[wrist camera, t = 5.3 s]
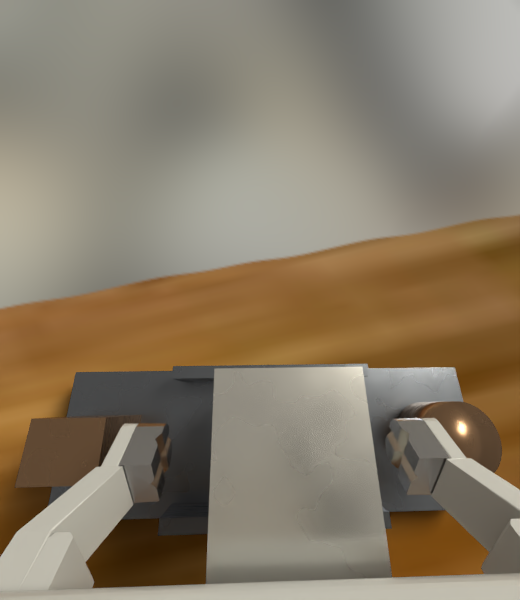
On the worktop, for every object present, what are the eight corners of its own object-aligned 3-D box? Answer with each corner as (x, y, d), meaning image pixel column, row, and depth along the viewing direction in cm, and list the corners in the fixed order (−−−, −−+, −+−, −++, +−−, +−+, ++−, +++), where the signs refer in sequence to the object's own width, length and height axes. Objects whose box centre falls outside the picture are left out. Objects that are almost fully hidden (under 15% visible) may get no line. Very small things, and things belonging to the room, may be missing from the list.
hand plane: (75, 504, 16) (-35, 565, 10) (98, 376, 18) (22, 362, 12) (456, 494, 17) (575, 545, 10) (429, 372, 19) (513, 356, 13)
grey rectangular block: (232, 492, 14) (204, 618, 6) (234, 388, 16) (214, 368, 8) (311, 490, 14) (396, 610, 6) (304, 387, 16) (362, 366, 8)
